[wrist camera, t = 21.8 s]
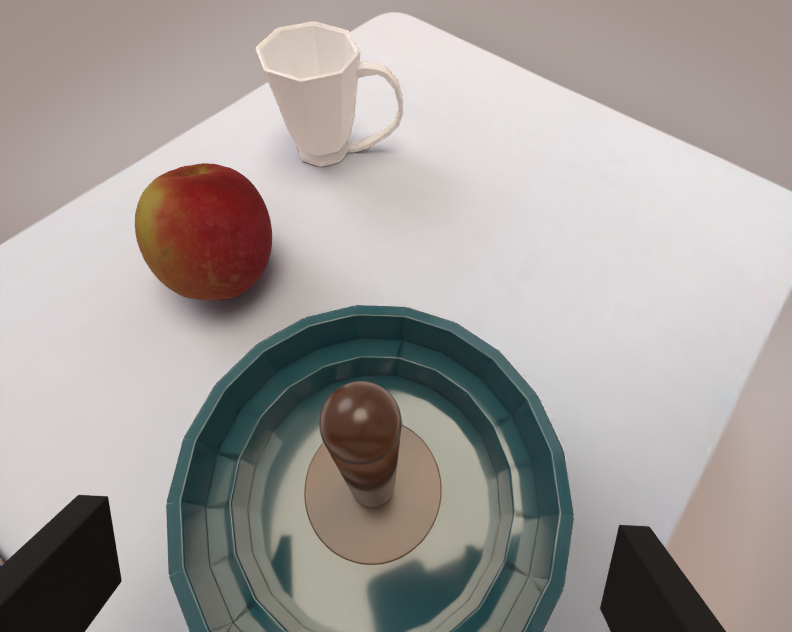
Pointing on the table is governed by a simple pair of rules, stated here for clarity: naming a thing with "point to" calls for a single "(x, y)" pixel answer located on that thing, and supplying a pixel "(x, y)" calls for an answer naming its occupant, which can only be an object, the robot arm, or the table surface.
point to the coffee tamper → (370, 478)
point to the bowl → (290, 459)
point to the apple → (204, 231)
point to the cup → (320, 88)
